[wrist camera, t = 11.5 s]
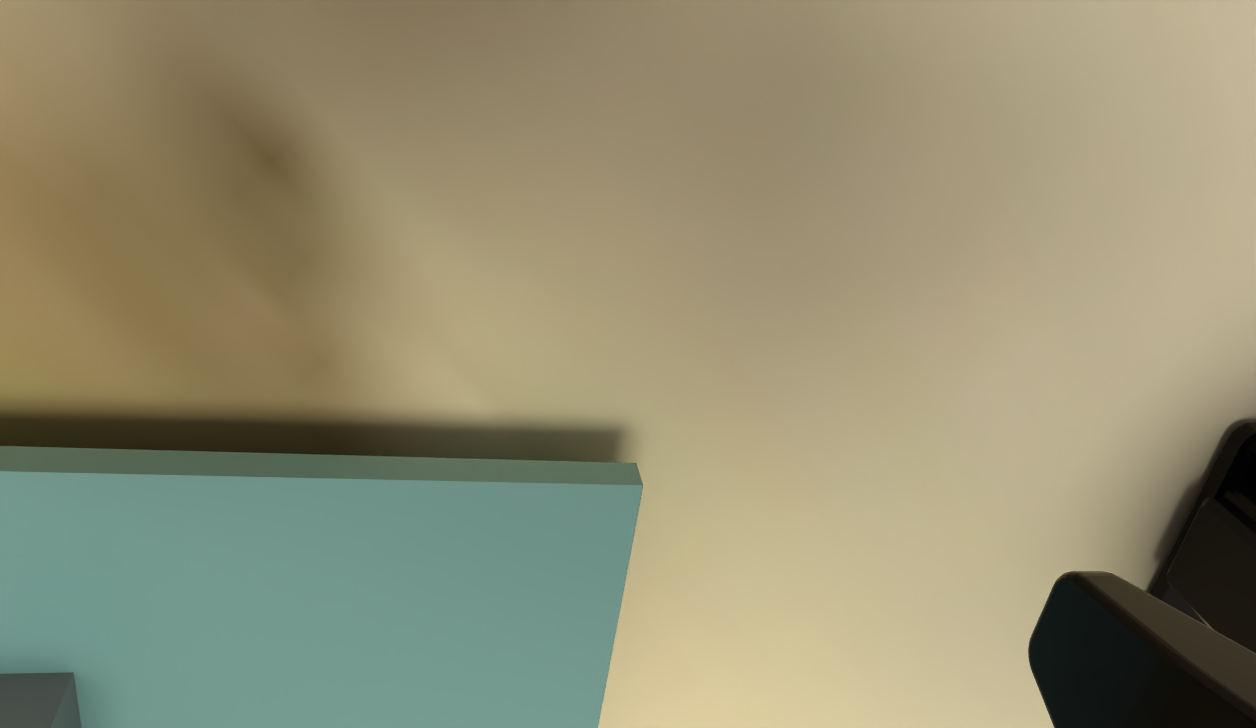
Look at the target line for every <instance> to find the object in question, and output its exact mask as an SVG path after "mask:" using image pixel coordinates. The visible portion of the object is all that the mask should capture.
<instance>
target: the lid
mask: <svg viewBox="0 0 1256 728" xmlns="http://www.w3.org/2000/svg"><path fill="white" fill-rule="evenodd" d="M642 489H643V483H642V480H641V477H640V474H639V471H638V468H637V465H636V463H617V462H580V461H543V460H506V459H469V458H432V457H395V456H358V455H321V454H283V453H246V452H209V451H172V450H135V449H98V448H61V447H24V446H0V728H598V724H599V719H600V713H601V708H602V703H603V697H604V692H605V687H606V681H607V676H608V671H609V665H610V660H611V655H612V649H613V644H614V638H615V633H616V628H617V622H618V617H619V612H620V606H621V601H622V596H623V590H624V585H625V580H626V574H627V569H628V564H629V558H630V553H631V548H632V542H633V537H634V532H635V526H636V521H637V516H638V510H639V505H640V500H641V494H642Z"/></svg>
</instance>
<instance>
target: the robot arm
mask: <svg viewBox="0 0 1256 728" xmlns="http://www.w3.org/2000/svg"><path fill="white" fill-rule="evenodd" d="M1028 654H1029V662H1030V667H1031V670H1032V673H1033V675H1034V678H1035V680H1036V683H1037V685H1038V688H1039V690H1040V693H1041V695H1042V698H1043V700H1044V703H1045V705H1046V708H1047V710H1048V713H1049V715H1050V718H1051V720H1052V723H1053V725H1054V728H1256V422H1253V423H1247V424H1244V425H1242V426H1240V427H1239V428H1237V429H1236V430H1235V431H1234V432H1233V433H1232V434H1231V436H1230V437H1229V439H1228V440H1227V442H1226V444H1225V446H1224V448H1223V450H1222V452H1221V454H1220V456H1219V458H1218V460H1217V462H1216V464H1215V466H1214V468H1213V470H1212V472H1211V474H1210V476H1209V478H1208V480H1207V482H1206V484H1205V486H1204V488H1203V490H1202V492H1201V494H1200V496H1199V498H1198V500H1197V502H1196V504H1195V506H1194V508H1193V510H1192V512H1191V514H1190V516H1189V518H1188V520H1187V522H1186V524H1185V526H1184V528H1183V530H1182V532H1181V534H1180V536H1179V538H1178V540H1177V542H1176V544H1175V546H1174V548H1173V550H1172V552H1171V554H1170V556H1169V558H1168V560H1167V562H1166V564H1165V566H1164V568H1163V570H1162V572H1161V574H1160V577H1159V579H1158V581H1157V583H1156V585H1155V587H1154V589H1153V591H1152V593H1151V595H1150V594H1148V593H1147V592H1145V591H1143V590H1141V589H1140V588H1138V587H1136V586H1134V585H1132V584H1131V583H1129V582H1127V581H1125V580H1123V579H1122V578H1120V577H1118V576H1116V575H1114V574H1112V573H1108V572H1102V571H1071V572H1067V573H1064V574H1063V575H1062V576H1061V577H1059V578H1058V579H1057V580H1056V582H1055V584H1054V585H1053V587H1052V590H1051V592H1050V594H1049V597H1048V599H1047V601H1046V603H1045V606H1044V608H1043V610H1042V612H1041V615H1040V617H1039V619H1038V622H1037V624H1036V626H1035V628H1034V631H1033V633H1032V635H1031V638H1030V641H1029V648H1028Z"/></svg>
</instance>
